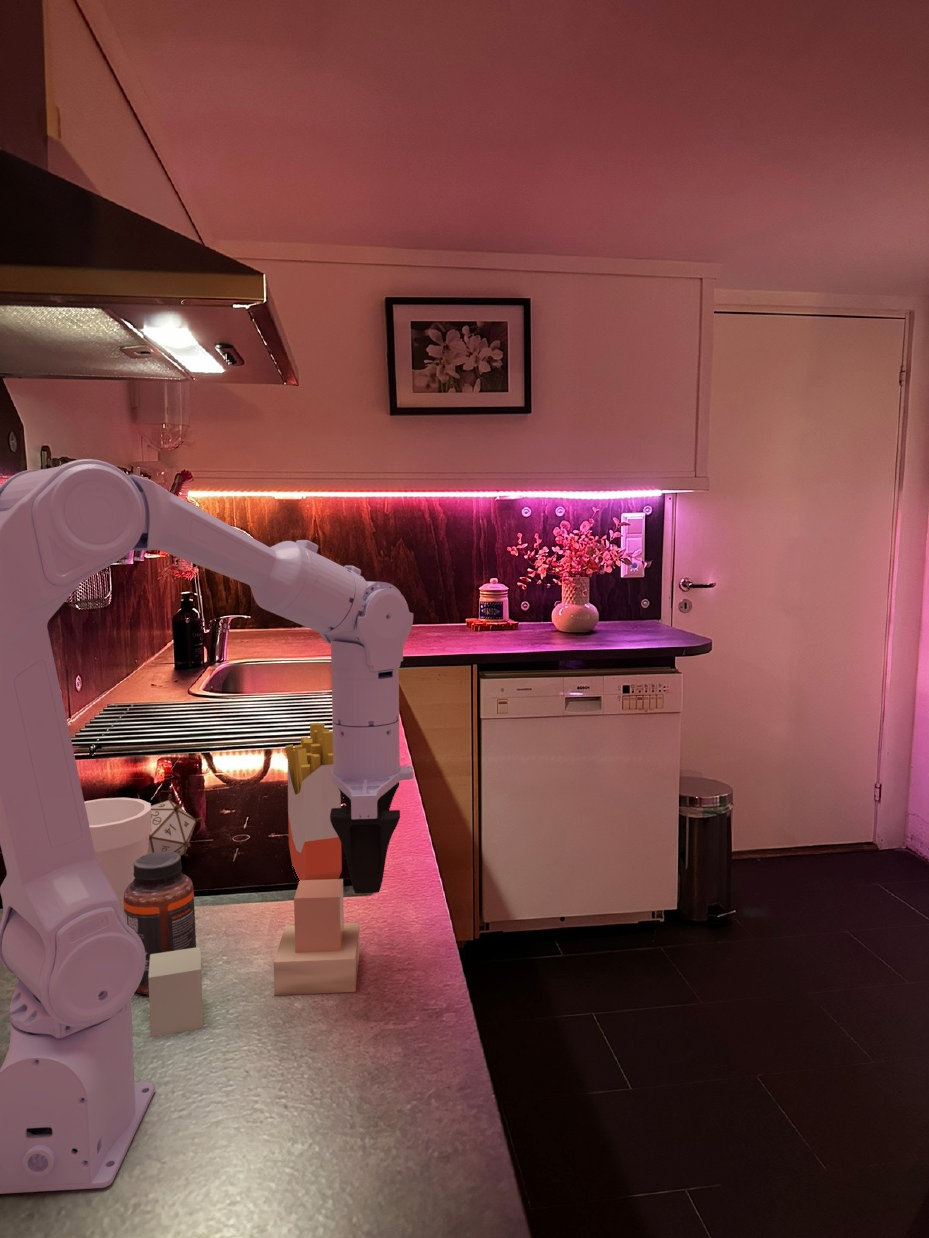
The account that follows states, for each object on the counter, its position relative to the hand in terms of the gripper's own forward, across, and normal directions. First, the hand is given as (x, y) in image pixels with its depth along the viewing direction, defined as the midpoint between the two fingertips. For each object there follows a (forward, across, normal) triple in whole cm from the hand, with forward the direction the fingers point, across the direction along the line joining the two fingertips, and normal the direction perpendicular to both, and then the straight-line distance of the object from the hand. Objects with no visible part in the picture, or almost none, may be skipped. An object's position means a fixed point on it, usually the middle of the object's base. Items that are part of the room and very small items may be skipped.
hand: (368, 873), depth 72 cm
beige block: (+10, -3, +16) cm, 19 cm away
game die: (+11, +32, +26) cm, 43 cm away
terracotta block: (+8, +3, +5) cm, 9 cm away
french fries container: (+11, +26, +7) cm, 29 cm away
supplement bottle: (+11, +3, +19) cm, 22 cm away
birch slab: (+10, +3, +5) cm, 12 cm away
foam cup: (+11, +12, +27) cm, 31 cm away
